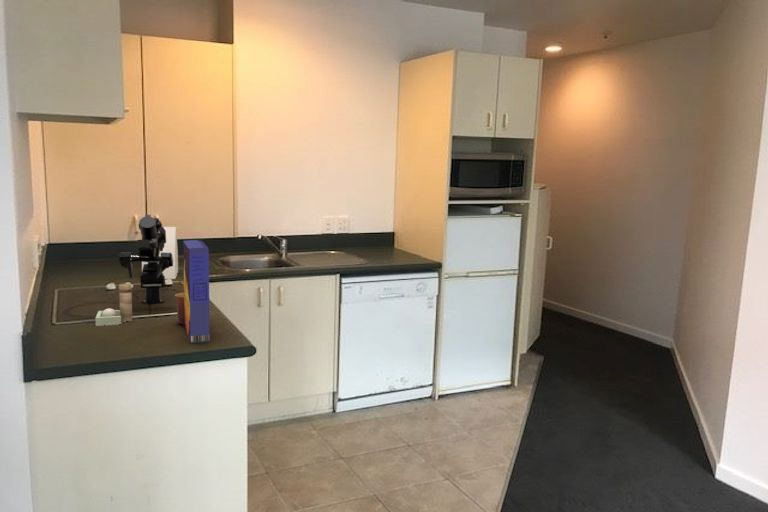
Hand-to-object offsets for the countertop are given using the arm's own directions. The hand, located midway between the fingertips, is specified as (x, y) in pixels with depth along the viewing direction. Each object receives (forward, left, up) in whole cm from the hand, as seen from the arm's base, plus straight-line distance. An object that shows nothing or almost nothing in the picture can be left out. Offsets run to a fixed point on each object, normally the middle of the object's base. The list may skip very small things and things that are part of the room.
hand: (143, 277), depth 226 cm
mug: (+23, +9, -14) cm, 28 cm away
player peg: (+7, -9, -14) cm, 18 cm away
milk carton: (-78, +36, -14) cm, 87 cm away
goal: (+6, -14, -14) cm, 20 cm away
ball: (+5, -14, -11) cm, 19 cm away
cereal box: (+38, +4, -14) cm, 41 cm away
